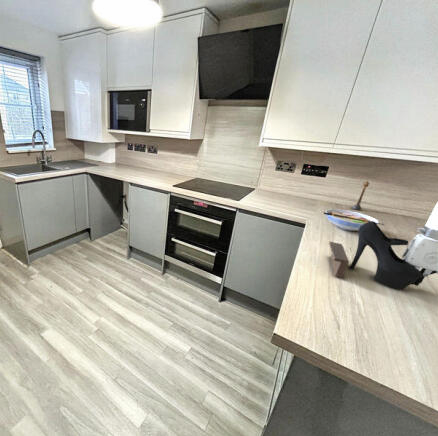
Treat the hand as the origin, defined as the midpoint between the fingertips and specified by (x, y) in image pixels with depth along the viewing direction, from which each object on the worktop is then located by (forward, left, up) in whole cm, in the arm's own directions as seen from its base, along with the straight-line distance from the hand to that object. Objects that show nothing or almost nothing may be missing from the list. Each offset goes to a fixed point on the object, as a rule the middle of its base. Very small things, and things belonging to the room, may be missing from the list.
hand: (412, 283), depth 80 cm
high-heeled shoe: (+9, 0, -2) cm, 10 cm away
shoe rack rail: (+21, 0, -2) cm, 21 cm away
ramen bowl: (+10, -55, -2) cm, 56 cm away
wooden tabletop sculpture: (-3, -106, -2) cm, 106 cm away
